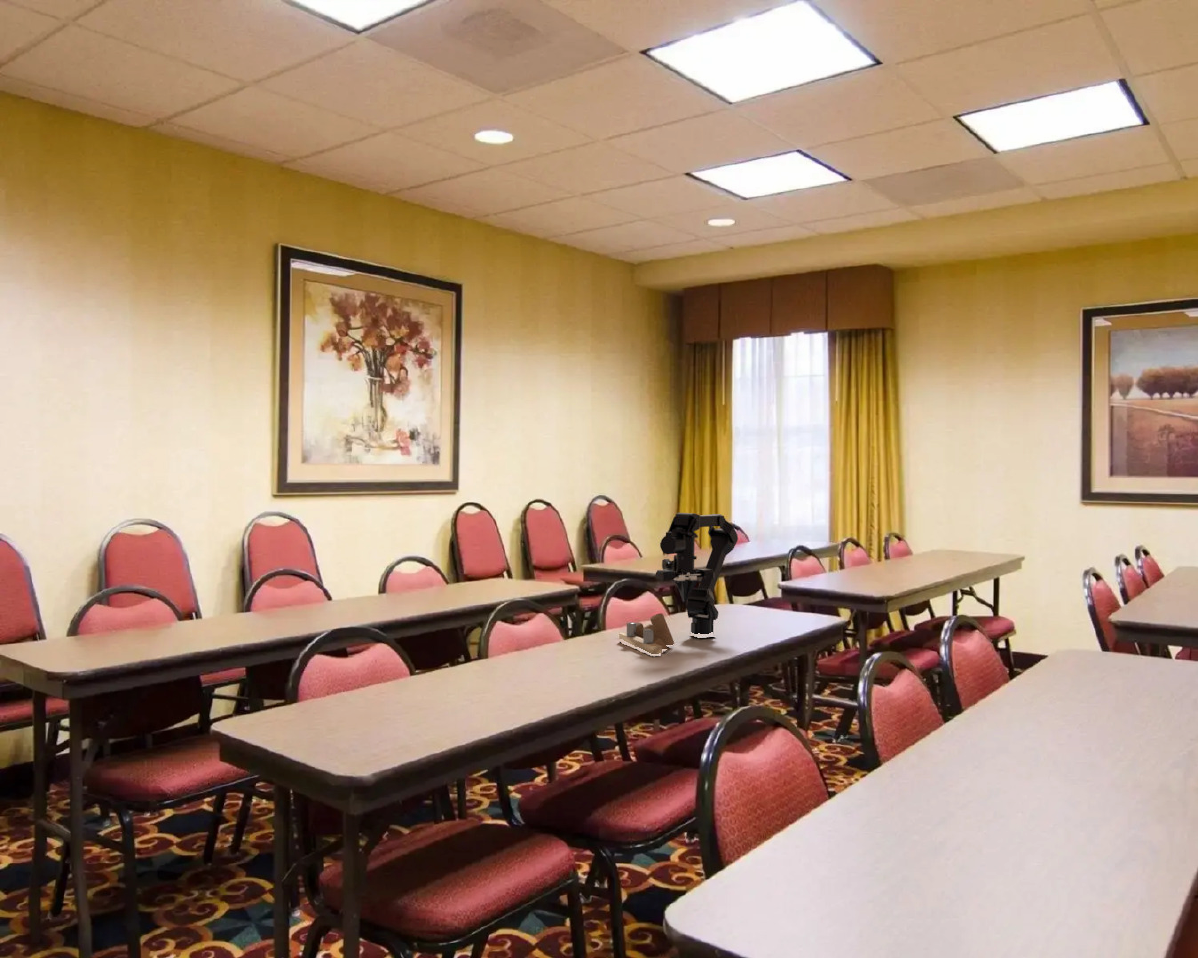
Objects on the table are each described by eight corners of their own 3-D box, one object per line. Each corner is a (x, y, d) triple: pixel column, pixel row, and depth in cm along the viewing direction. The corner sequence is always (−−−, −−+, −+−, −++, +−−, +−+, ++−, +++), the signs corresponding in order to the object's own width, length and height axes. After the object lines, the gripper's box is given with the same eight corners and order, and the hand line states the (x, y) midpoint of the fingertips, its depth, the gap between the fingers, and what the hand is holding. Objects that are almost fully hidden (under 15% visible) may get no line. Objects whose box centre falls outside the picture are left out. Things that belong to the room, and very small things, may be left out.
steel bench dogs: (633, 644, 289) (633, 622, 289) (654, 653, 275) (655, 630, 275) (624, 645, 288) (625, 622, 288) (645, 654, 274) (646, 630, 274)
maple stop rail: (627, 641, 293) (627, 632, 293) (661, 656, 271) (661, 646, 271) (619, 642, 292) (619, 633, 292) (652, 657, 270) (652, 646, 270)
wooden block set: (634, 651, 291) (622, 621, 290) (656, 638, 295) (644, 609, 293) (662, 659, 275) (650, 628, 274) (685, 645, 279) (673, 615, 277)
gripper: (696, 549, 305) (696, 597, 305) (647, 551, 296) (646, 599, 297) (715, 552, 295) (714, 601, 295) (664, 553, 286) (663, 604, 286)
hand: (684, 601), depth 293 cm, fingers closed
